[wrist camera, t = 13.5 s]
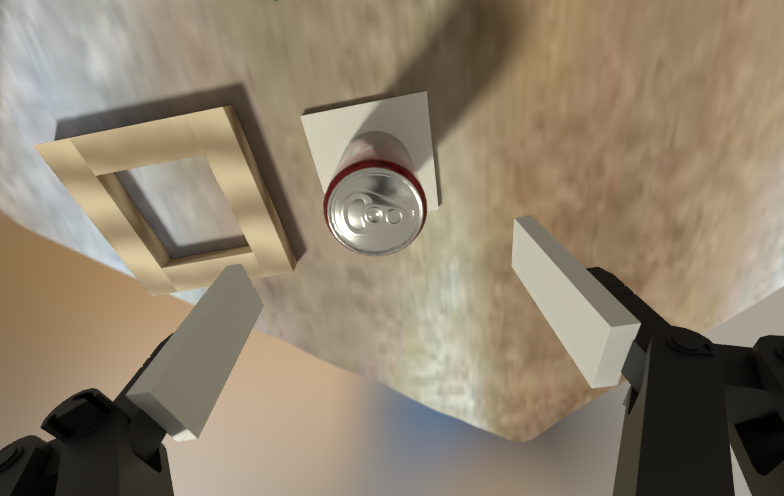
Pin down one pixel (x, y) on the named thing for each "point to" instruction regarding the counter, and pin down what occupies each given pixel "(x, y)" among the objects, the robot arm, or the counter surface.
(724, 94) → the counter surface
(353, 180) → the soda can
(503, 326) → the counter surface
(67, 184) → the well board
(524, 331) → the counter surface
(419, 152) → the tile
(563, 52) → the counter surface
